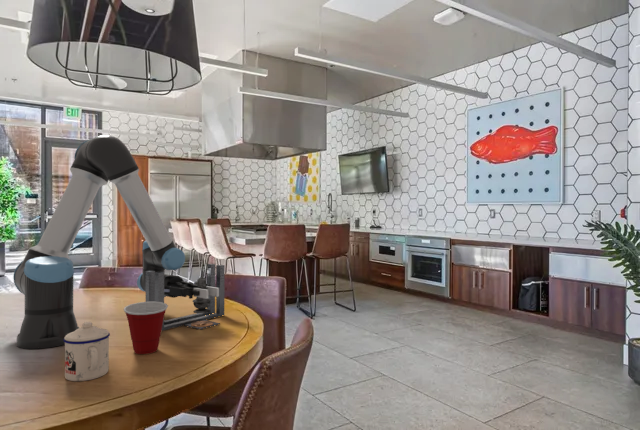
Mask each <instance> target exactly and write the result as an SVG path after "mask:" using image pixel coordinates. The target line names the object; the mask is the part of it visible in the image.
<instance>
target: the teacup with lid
mask: <svg viewBox="0 0 640 430" xmlns="http://www.w3.org/2000/svg"><path fill="white" fill-rule="evenodd" d="M110 336H111V334H110V331H109V330H108V329H106V328H101V327H99V326H95V325H93V322H91V321H84V322H83V323H82V324H81V327H79V328H78V329H77V330H75V331H74V332H71V333H69V334H67V335H66V336H65V337H64V342H65V344H64V377H65V378H64V379H66V380H68V381H71V382H85V381H91V380H95V379H98V378H101V377H103V376H104V375H106V374H107V373H108V372H109V365H110V364H109V360H110V358H109V337H110Z"/></svg>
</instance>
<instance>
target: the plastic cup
mask: <svg viewBox="0 0 640 430" xmlns="http://www.w3.org/2000/svg"><path fill="white" fill-rule="evenodd" d="M168 307H169V305H168V303H165V302H164V303H162V302H146V301H141V302H140V301H139V302H136V303H135V302H134V303H131V304H128V305H126V306H124V308H123V312H124V313H125V314H126V315H125V316H126V319H127V322H128V327H129V335H130V339H131V342H132V348H133V349H132V350H133V351H134V354H137V355H149V354H152V353H155V352H156V351H158V349H159V345H160V340H161V339H160V338H161V335H162V331H161V330H162V324H163V318H164V319H165V314H166V311H167V309H168Z"/></svg>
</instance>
